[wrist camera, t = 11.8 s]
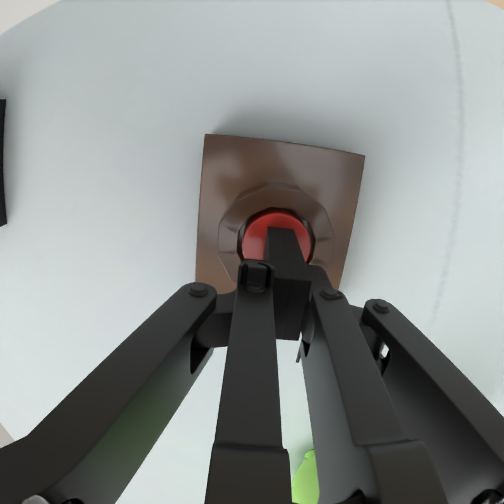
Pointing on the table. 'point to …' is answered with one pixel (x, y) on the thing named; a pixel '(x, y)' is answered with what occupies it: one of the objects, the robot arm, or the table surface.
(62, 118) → the table surface
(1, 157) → the panel
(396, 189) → the table surface
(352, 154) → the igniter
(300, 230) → the button
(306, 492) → the teapot
